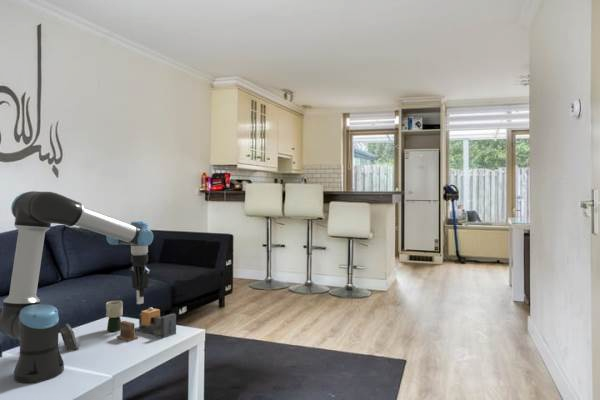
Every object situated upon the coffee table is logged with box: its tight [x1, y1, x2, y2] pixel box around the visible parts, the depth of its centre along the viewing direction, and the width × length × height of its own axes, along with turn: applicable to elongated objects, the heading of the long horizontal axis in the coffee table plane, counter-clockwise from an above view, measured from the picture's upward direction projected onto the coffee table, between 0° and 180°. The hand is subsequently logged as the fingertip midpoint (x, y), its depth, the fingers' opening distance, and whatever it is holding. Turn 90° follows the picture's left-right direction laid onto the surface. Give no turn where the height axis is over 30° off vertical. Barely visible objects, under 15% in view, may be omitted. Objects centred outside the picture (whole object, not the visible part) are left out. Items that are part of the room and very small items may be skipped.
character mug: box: [105, 300, 124, 332], centre depth 199 cm, size 11×7×13 cm, turn 176°
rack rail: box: [134, 313, 177, 339], centre depth 197 cm, size 7×20×9 cm, turn 58°
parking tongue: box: [116, 320, 139, 343], centre depth 188 cm, size 5×8×7 cm, turn 58°
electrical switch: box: [58, 323, 80, 352], centre depth 176 cm, size 9×5×9 cm, turn 38°
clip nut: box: [140, 307, 161, 326], centre depth 198 cm, size 6×5×7 cm
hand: (140, 303), depth 203 cm, fingers closed
